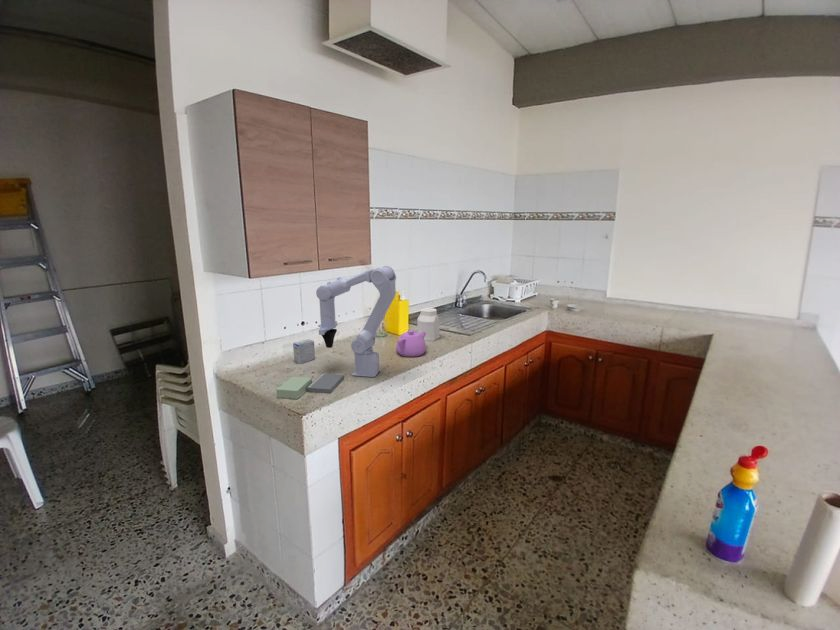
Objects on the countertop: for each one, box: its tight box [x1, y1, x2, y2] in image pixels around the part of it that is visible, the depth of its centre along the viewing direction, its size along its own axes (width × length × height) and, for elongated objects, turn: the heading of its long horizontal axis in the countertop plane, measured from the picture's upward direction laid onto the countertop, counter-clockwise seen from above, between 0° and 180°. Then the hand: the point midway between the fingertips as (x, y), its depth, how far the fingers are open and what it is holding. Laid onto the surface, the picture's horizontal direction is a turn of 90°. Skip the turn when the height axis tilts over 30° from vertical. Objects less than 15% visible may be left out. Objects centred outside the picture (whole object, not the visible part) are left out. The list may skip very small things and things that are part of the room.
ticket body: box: [306, 373, 345, 394], centre depth 156 cm, size 9×14×2 cm, turn 170°
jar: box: [416, 307, 441, 342], centre depth 214 cm, size 12×10×15 cm
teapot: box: [395, 329, 427, 358], centre depth 193 cm, size 14×20×11 cm
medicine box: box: [292, 338, 316, 365], centre depth 182 cm, size 8×4×9 cm, turn 141°
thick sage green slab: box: [276, 376, 313, 400], centre depth 150 cm, size 8×12×3 cm, turn 170°
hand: (329, 347), depth 170 cm, fingers closed
